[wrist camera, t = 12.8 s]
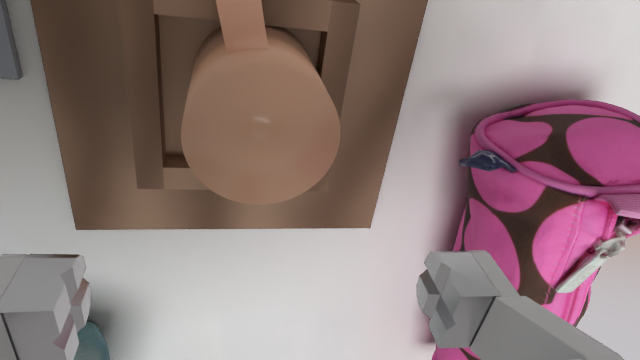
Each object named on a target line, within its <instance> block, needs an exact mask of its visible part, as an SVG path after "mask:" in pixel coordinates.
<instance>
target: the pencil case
mask: <svg viewBox="0 0 640 360" xmlns="http://www.w3.org/2000/svg"><path fill="white" fill-rule="evenodd" d="M458 164H459V165H460V166H468V184H469V198H468V200H467V204H466V207H465V210H464V213H463V217H462V220H461V223H460V226H459V230H458V234H457V238H456V242H455V245H454V248H453V251H472V250H485V251H487V252H488V253H489V254H490V255H491V256H492V258H493V259H494V260H495V262H496V263H497V265H498V266H499V267H500V269H501V270H502V272H503V273H504V274H505V276H506V277H507V278H508V280H509V281H510V283H511V284H512V285H513V287H514V288H515V290H516V291H517V292H518V294H519V295H520V296H526V297H528V298H530V299H531V300H533V301H534V302H536V303H538V304H539V305H541V306H542V307H544V308H546V309H547V310H549V311H550V312H552V313H554V314H555V315H557V316H558V317H560V318H562V319H563V320H565V321H567V322H568V323H570V324H571V325H573V326H575V327H576V326H577V324H578V322H579V321H580V319H581V318H582V316H583V315H584V313H585V311H586V309H587V307H588V304H589V301H590V293H591V284H592V282H593V280H594V279H595V277H596V275H597V274H598V272H599V270H600V267H601V265H603V263H604V262H605V261H606V260H607V259H608V257H612V256H615V255H617V254H619V253H621V252H622V251H623V250H624V248H625V240H626V238H627V237H630V236H633V235H636V234H638V233H640V116H639V115H637V114H635V113H633V112H631V111H629V110H626V109H624V108H621V107H618V106H615V105H612V104H608V103H604V102H599V101H591V100H558V101H550V102H543V103H536V104H527V105H522V106H519V107H515V108H512V109H509V110H506V111H503V112H500V113H497V114H494V115H492V116H489V117H487V118H484V119H482V120H481V121H480V122H478V123H477V124H476V125H475V126H474V128H473V129H472V132H471V136H470V140H469V146H468V158H465V159H461V160H460V161H459V163H458ZM470 348H471V347H469V348H438V346H437V344H436V350H435V352H434V354H433V357H432V360H481V359H480V358H479V357H478V356H477V355H476V354H474V353H473V352H472V351H471V350H470Z"/></svg>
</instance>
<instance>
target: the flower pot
mask: <svg viewBox="0 0 640 360" xmlns="http://www.w3.org/2000/svg"><path fill="white" fill-rule="evenodd" d="M77 336H78V340H79V345H78V348H77V351H76V354H75V357H74V360H110V358H109V352H108V348H107V345H106V342H105V339H104V337H103V335H102V333H101V332H100V330H99V329H98V327H97V326H96V324H94V323H92V322H86V325H85V326H84V327H83V328H82V329H81V330H79V331H78V332H77Z"/></svg>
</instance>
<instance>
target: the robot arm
mask: <svg viewBox="0 0 640 360" xmlns="http://www.w3.org/2000/svg"><path fill="white" fill-rule="evenodd" d="M424 264H425V266H426V268H427V270H426V271H425V272H423V273H422V274H421V275H420V276H419V279H418V282H417V300H418V304H419V306H420V308H421V311H422V312H423V313H424V314H425V315H427V316H428V317H429V318H430V319H431V320H430V323H429V328H430V331H431V333H432V335H433V337H434V339H435V341H436V344H437V346H438V348H469V347H471V348H470V350H471V351H472V352H473V353H474V354H476V355H477V356H478V357H479V358H480V359H481V360H624V359H623V358H622V357H621V356H620V355H619V354H618V353H616V352H614V351H613V350H611V349H610V348H608V347H606V346H604V345H603V344H602V343H600V342H599V341H597V340H595V339H594V338H592V337H590V336H589V335H587V334H586V333H584V332H583V331H580V330H579V329H578V328H576V327H575V326H573V325H571V324H570V323H568V322H567V321H565V320H563V319H562V318H560V317H558V316H557V315H555V314H554V313H552V312H550V311H549V310H547V309H546V308H544V307H542V306H541V305H539V304H538V303H536V302H534V301H533V300H531V299H530V298H528V297H526V296H520V295H519V294H518V292H517V291H516V290H515V288H514V287H513V285H512V284H511V283H510V281H509V280H508V278H507V277H506V276H505V274H504V273H503V272H502V270H501V269H500V267H499V266H498V265H497V263H496V262H495V260H494V259H493V258H492V256H491V255H490V254H489V253H488V252H487V251H485V250H472V251H431V252H430V253H429V254H428V255H427V257H426V259H425V262H424ZM85 270H86V265H85V261H84V257H83V256H81V255H68V254H29V255H25V254H3V255H1V256H0V360H74V357H75V354H76V351H77V348H78V345H79V340H78V336H77V332H78V331H79V330H81V329H82V328H83V327H84V326H85V325H86V322H87V319H88V315H89V310H90V303H91V290H90V285H89V282H88V281H86V280H85V279H84V278H83V275H84V273H85Z"/></svg>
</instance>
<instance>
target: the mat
mask: <svg viewBox="0 0 640 360" xmlns="http://www.w3.org/2000/svg"><path fill="white" fill-rule="evenodd" d="M21 77H22V73H21V69H20V65H19V60H18V56H17V52H16V47H15V43H14V38H13V34H12V30H11V25H10V21H9V16H8V12H7V8H6V3H5V0H0V79H16V80H19V79H20V78H21Z"/></svg>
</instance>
